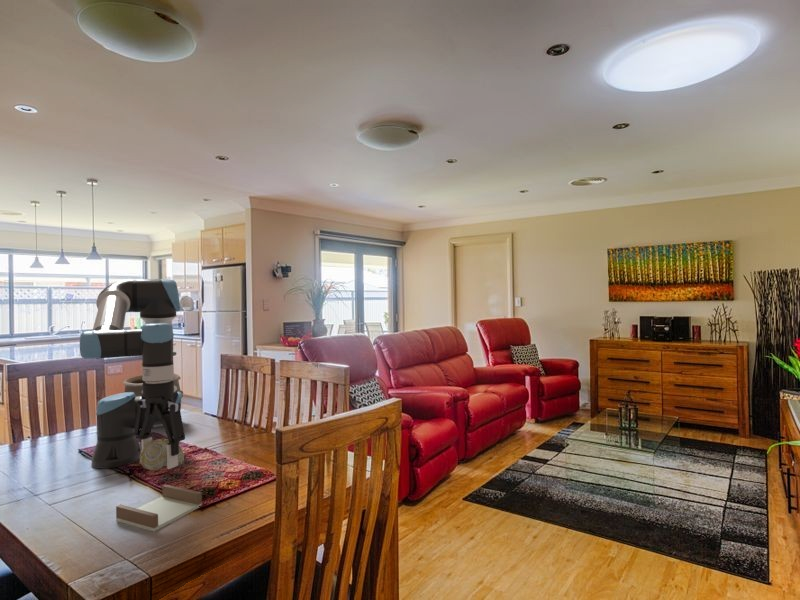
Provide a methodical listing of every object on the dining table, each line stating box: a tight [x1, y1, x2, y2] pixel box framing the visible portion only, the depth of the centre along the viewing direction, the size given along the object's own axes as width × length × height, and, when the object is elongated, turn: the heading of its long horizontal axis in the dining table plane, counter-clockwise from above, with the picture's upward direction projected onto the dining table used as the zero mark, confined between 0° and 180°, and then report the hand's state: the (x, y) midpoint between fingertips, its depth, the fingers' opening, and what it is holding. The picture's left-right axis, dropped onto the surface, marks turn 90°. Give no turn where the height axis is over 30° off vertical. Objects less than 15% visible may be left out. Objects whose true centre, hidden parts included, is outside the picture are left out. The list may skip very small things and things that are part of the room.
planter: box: [122, 373, 184, 429], centre depth 209 cm, size 25×24×22 cm
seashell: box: [139, 438, 185, 471], centre depth 125 cm, size 10×10×10 cm
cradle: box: [115, 484, 203, 532], centre depth 125 cm, size 14×15×4 cm
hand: (159, 464), depth 125 cm, fingers closed on seashell, 9 cm apart
